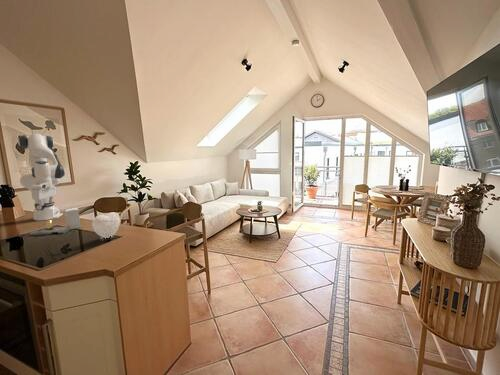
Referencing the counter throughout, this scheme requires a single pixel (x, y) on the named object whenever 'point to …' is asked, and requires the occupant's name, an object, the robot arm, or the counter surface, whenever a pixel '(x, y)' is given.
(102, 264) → the counter surface
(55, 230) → the bar with square hole
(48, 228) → the pin
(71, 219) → the skincare box
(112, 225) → the decorative heart
